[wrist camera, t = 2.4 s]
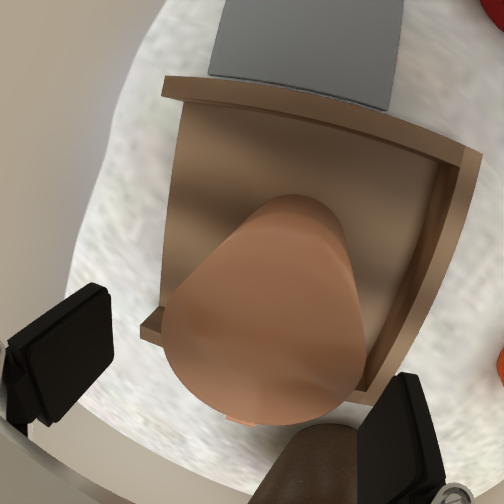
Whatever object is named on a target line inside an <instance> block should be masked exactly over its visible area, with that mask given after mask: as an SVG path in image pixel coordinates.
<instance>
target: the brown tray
mask: <svg viewBox="0 0 504 504" xmlns="http://www.w3.org/2000/svg"><path fill="white" fill-rule="evenodd" d="M161 96H163V97H167V98H171V99H175V100H179V101H183V102H184V105H183V110H182V115H181V120H180V126H179V132H178V138H177V144H176V150H175V156H174V163H173V169H172V176H171V184H170V191H169V199H168V207H167V216H166V225H165V235H164V246H163V257H162V270H161V284H160V301H159V306H158V307H157V308H156V310H155V311H154V312H153V313H152V314H151V315H150V316H149V317H148V318H147V319H146V320H145V321H144V322H143V323H142V324H141V325H140V338H141V339H143V340H146V341H148V342H150V343H153V344H155V345H158V346H160V347H163V344H162V338H161V324H162V317H163V313H164V310H165V307H166V305H167V303H168V301H169V299H170V297H171V296H172V294H173V293H174V292H175V290H176V289H177V288H178V287H179V286H180V285H181V284H182V283H183V282H184V281H185V280H186V279H187V278H188V277H189V276H190V275H191V274H192V273H193V272H194V271H195V270H196V269H197V268H198V267H199V266H200V265H201V264H202V263H203V262H204V261H205V260H206V259H207V258H208V257H209V256H210V255H211V254H212V253H213V252H214V251H215V250H216V249H217V248H218V247H219V246H220V245H221V244H222V243H223V242H224V241H225V240H226V239H227V238H228V237H229V236H230V235H231V234H232V233H233V232H234V231H235V230H236V229H237V228H238V227H239V226H240V225H241V224H242V223H243V222H244V221H245V220H246V219H247V218H248V217H249V216H250V215H251V214H252V213H253V212H254V211H255V210H256V209H257V208H259V207H260V206H261V205H262V204H264V203H265V202H266V201H268V200H270V199H272V198H275V197H278V196H282V195H289V194H297V195H304V196H308V197H311V198H314V199H316V200H318V201H320V202H321V203H323V204H324V205H326V206H327V207H328V208H329V209H330V210H331V211H332V212H333V213H334V214H335V215H336V217H337V218H338V220H339V222H340V224H341V226H342V228H343V231H344V235H345V239H346V243H347V248H348V252H349V257H350V261H351V266H352V270H353V275H354V280H355V285H356V290H357V295H358V300H359V306H360V311H361V317H362V323H363V329H364V335H365V341H366V363H365V367H364V371H363V374H362V377H361V379H360V381H359V383H358V385H357V386H356V388H355V389H354V391H353V392H352V393H351V394H350V396H349V397H348V398H347V399H346V400H345V401H348V402H353V403H359V404H364V405H370V406H374V405H375V403H376V402H377V400H378V399H379V397H380V396H381V394H382V393H383V391H384V389H385V388H386V386H387V384H388V383H389V381H390V379H391V378H392V377H393V376H394V375H395V373H396V372H397V370H398V368H399V367H400V365H401V363H402V361H403V360H404V358H405V356H406V354H407V353H408V351H409V349H410V347H411V345H412V343H413V342H414V340H415V338H416V336H417V334H418V332H419V330H420V328H421V326H422V324H423V322H424V320H425V318H426V316H427V314H428V312H429V310H430V308H431V306H432V304H433V302H434V299H435V297H436V295H437V293H438V290H439V288H440V286H441V284H442V281H443V279H444V277H445V274H446V272H447V269H448V267H449V264H450V262H451V259H452V256H453V254H454V251H455V248H456V246H457V243H458V240H459V237H460V234H461V232H462V229H463V226H464V222H465V219H466V216H467V213H468V210H469V206H470V203H471V199H472V196H473V192H474V189H475V185H476V181H477V177H478V173H479V169H480V164H481V160H482V155H483V154H481V153H479V152H477V151H475V150H473V149H471V148H469V147H467V146H465V145H462V144H460V143H458V142H456V141H454V140H451V139H449V138H447V137H444V136H442V135H439V134H437V133H435V132H432V131H430V130H427V129H425V128H422V127H419V126H417V125H414V124H411V123H409V122H406V121H403V120H400V119H397V118H394V117H391V116H388V115H385V114H382V113H379V112H376V111H373V110H369V109H366V108H363V107H359V106H356V105H352V104H349V103H345V102H341V101H337V100H333V99H329V98H325V97H321V96H317V95H312V94H308V93H303V92H298V91H293V90H288V89H283V88H277V87H272V86H265V85H259V84H252V83H245V82H238V81H229V80H220V79H210V78H198V77H183V76H165V79H164V84H163V89H162V94H161Z"/></svg>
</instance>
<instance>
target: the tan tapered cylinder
mask: <svg viewBox="0 0 504 504" xmlns="http://www.w3.org/2000/svg"><path fill="white" fill-rule="evenodd" d="M161 338H162V344H163V349H164V352H165V355H166V358H167V360H168V362H169V364H170V366H171V368H172V370H173V371H174V373H175V374H176V376H177V377H178V379H179V380H180V381H181V382H182V384H183V385H184V386H185V387H186V388H187V389H188V390H189V391H190V392H191V393H192V394H193V395H195V396H196V397H197V398H198V399H199V400H201V401H202V402H204V403H205V404H207V405H208V406H210V407H211V408H213V409H215V410H217V411H219V412H221V413H223V414H225V415H227V416H226V419H227V420H231V421H234V422H237V423H241V424H244V425H247V426H251V427H254V426H255V424H262V425H290V424H297V423H302V422H306V421H309V420H312V419H315V418H318V417H320V416H322V415H324V414H327V413H328V412H330V411H332V410H333V409H335V408H336V407H338V406H339V405H340V404H341V403H343V402H344V401H345V400H346V399H347V398H348V397H349V396H350V394H351V393H352V392H353V391H354V389H355V388H356V386H357V385H358V383H359V381H360V379H361V377H362V374H363V371H364V367H365V363H366V341H365V335H364V329H363V323H362V317H361V311H360V306H359V300H358V295H357V290H356V285H355V280H354V275H353V270H352V266H351V261H350V257H349V252H348V248H347V243H346V239H345V235H344V231H343V228H342V226H341V224H340V222H339V220H338V218H337V217H336V215H335V214H334V213H333V212H332V211H331V210H330V209H329V208H328V207H327V206H326V205H324V204H323V203H321V202H320V201H318V200H316V199H314V198H311V197H308V196H304V195H297V194H289V195H282V196H278V197H275V198H272V199H270V200H268V201H266V202H265V203H264V204H262V205H261V206H260V207H259V208H257V209H256V210H255V211H254V212H253V213H252V214H251V215H250V216H249V217H248V218H247V219H246V220H245V221H244V222H243V223H242V224H241V225H240V226H239V227H238V228H237V229H236V230H235V231H234V232H233V233H232V234H231V235H230V236H229V237H228V238H227V239H226V240H225V241H224V242H223V243H222V244H221V245H220V246H219V247H218V248H217V249H216V250H215V251H214V252H213V253H212V254H211V255H210V256H209V257H208V258H207V259H206V260H205V261H204V262H203V263H202V264H201V265H200V266H199V267H198V268H197V269H196V270H195V271H194V272H193V273H192V274H191V275H190V276H189V277H188V278H187V279H186V280H185V281H184V282H183V283H182V284H181V285H180V286H179V287H178V288H177V289H176V290H175V292H174V293H173V294H172V296H171V297H170V299H169V301H168V303H167V305H166V307H165V310H164V313H163V317H162V324H161Z"/></svg>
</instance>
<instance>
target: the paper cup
mask: <svg viewBox="0 0 504 504" xmlns="http://www.w3.org/2000/svg"><path fill="white" fill-rule="evenodd" d="M497 370H498V374H499V376H500V379H501V381H502V384H503V386H504V348H503V350H502V352H501V354H500V356H499V358H498V362H497Z"/></svg>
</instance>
